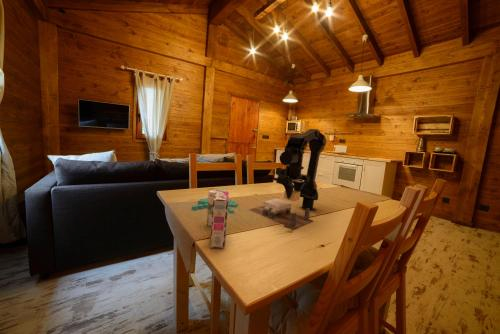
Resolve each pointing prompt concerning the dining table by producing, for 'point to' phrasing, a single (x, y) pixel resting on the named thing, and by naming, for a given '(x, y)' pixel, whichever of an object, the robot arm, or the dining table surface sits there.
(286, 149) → the robot arm
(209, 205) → the syrup box
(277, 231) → the dining table surface
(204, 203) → the alien figure
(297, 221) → the roller bed
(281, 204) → the slab
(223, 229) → the candy bar box
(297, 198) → the support block
